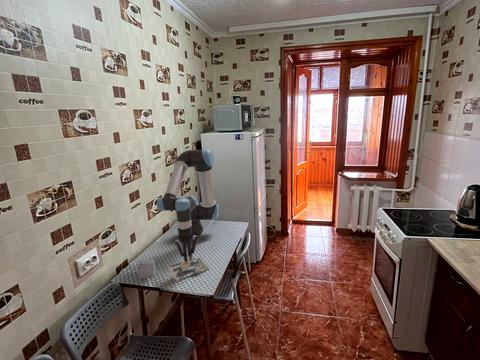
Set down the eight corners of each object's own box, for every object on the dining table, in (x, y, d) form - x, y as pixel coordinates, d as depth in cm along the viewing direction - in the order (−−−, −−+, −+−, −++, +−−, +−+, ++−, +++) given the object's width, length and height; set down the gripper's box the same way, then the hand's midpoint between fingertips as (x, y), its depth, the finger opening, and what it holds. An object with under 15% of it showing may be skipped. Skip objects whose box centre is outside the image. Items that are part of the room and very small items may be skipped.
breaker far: (187, 261, 154) (186, 255, 153) (192, 260, 155) (191, 253, 154) (189, 264, 151) (188, 257, 150) (194, 262, 153) (193, 255, 152)
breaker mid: (181, 269, 146) (180, 262, 145) (186, 268, 148) (185, 261, 147) (183, 272, 144) (182, 265, 143) (188, 270, 145) (187, 263, 144)
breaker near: (194, 271, 144) (194, 264, 143) (199, 269, 145) (199, 262, 144) (196, 274, 141) (196, 266, 140) (201, 272, 143) (201, 265, 142)
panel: (168, 269, 149) (167, 266, 149) (203, 258, 160) (203, 255, 160) (176, 283, 136) (176, 280, 135) (214, 270, 146) (214, 267, 146)
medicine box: (156, 273, 146) (155, 259, 144) (154, 278, 142) (152, 263, 140) (142, 274, 146) (140, 260, 144) (140, 278, 141) (137, 264, 139)
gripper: (175, 232, 135) (179, 272, 140) (198, 226, 141) (201, 265, 146) (170, 227, 141) (175, 266, 146) (193, 222, 147) (196, 259, 153)
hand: (188, 265), depth 146 cm, fingers closed
